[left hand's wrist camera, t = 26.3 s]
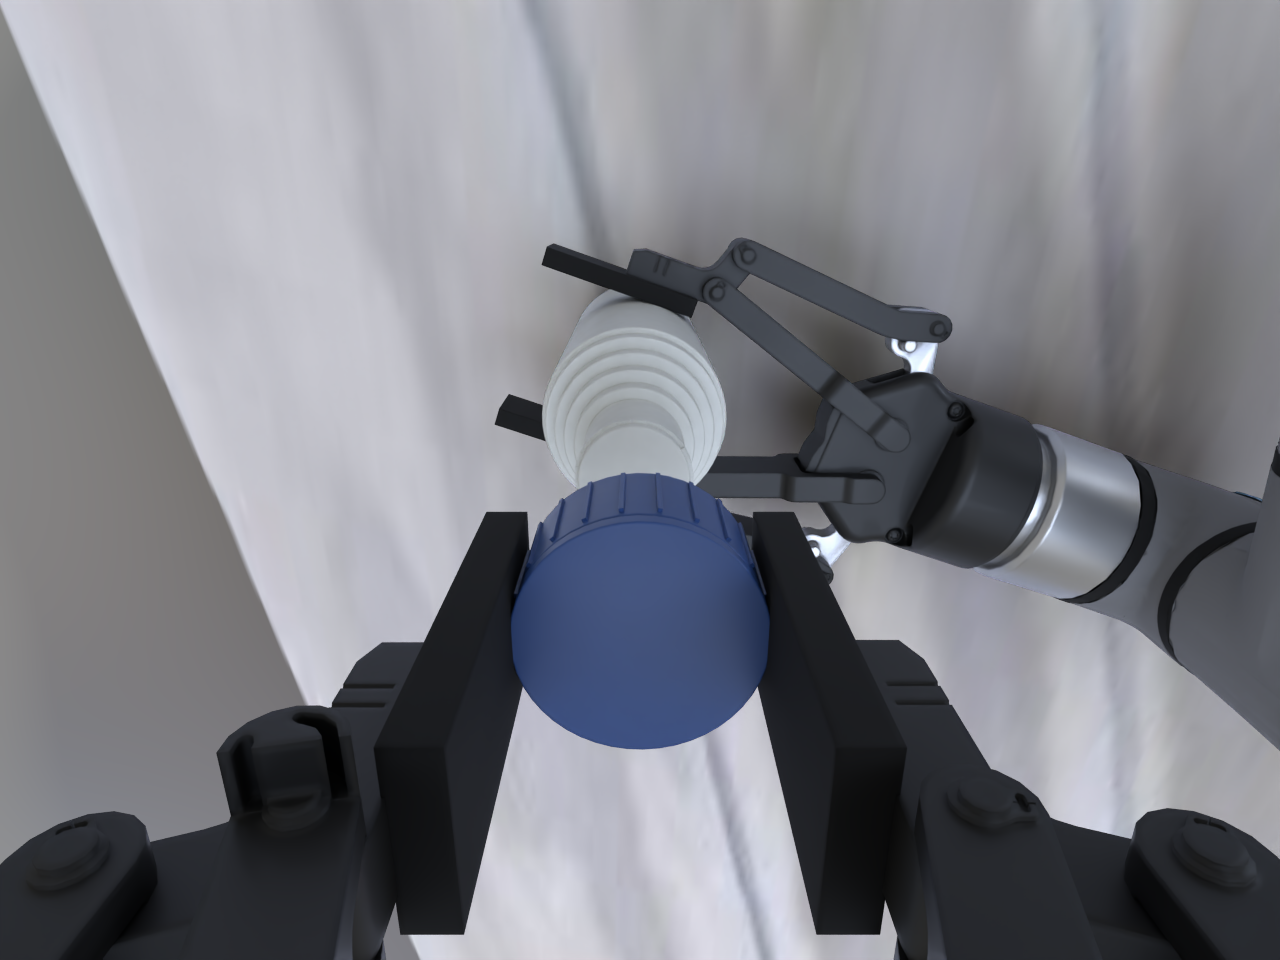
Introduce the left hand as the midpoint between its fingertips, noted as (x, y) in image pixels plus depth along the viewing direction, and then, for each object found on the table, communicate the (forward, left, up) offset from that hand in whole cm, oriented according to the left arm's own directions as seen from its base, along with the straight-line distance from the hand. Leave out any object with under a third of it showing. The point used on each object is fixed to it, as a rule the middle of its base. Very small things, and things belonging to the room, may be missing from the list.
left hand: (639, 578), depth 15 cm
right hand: (+4, -3, -21) cm, 21 cm away
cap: (0, 0, +2) cm, 2 cm away
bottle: (0, 0, -27) cm, 27 cm away
